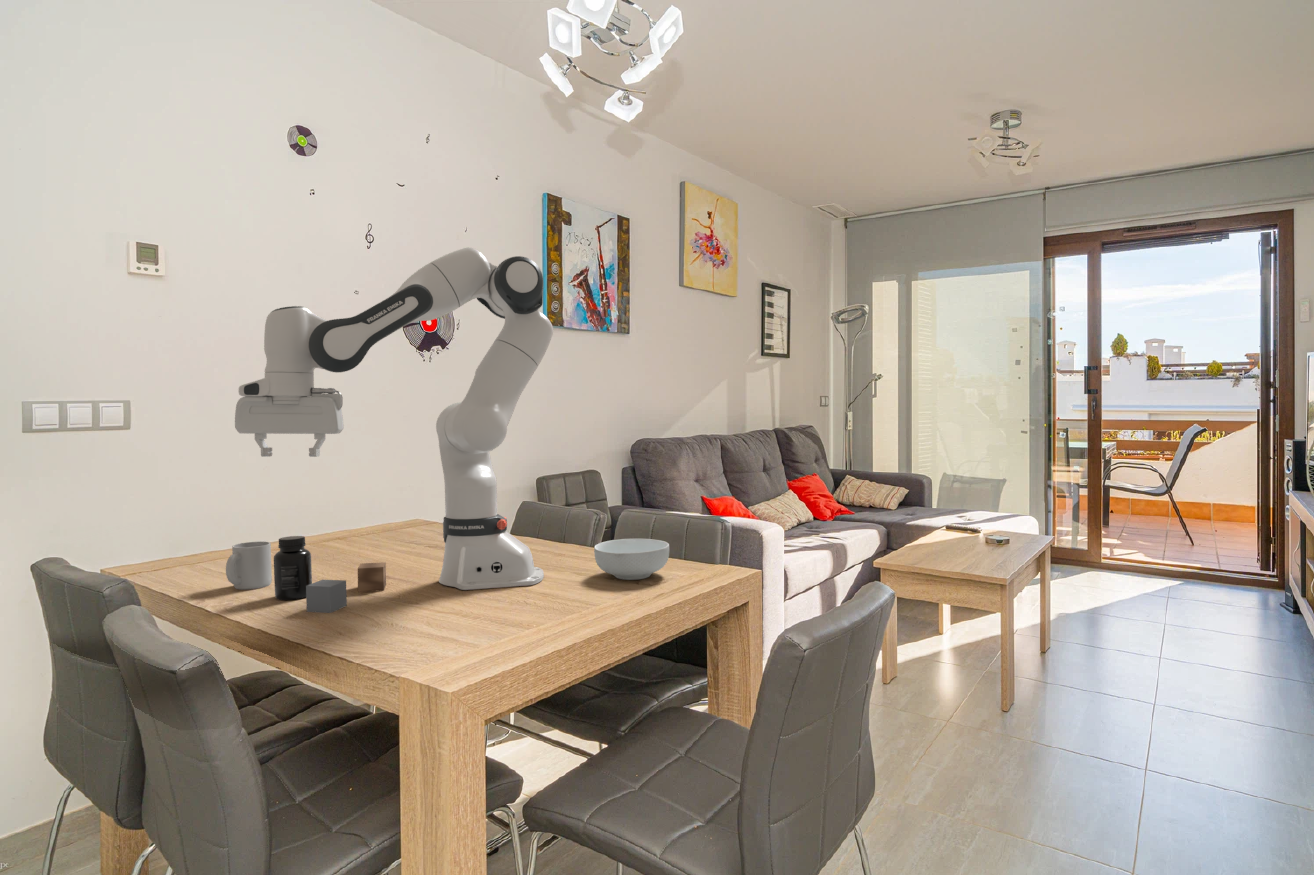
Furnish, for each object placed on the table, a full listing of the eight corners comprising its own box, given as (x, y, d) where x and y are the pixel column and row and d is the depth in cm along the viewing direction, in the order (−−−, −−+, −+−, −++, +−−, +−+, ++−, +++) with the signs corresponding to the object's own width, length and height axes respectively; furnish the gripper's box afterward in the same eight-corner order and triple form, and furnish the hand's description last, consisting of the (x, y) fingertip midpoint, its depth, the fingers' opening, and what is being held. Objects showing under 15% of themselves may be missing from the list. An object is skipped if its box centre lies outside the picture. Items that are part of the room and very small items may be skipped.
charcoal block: (346, 606, 142) (346, 580, 142) (330, 613, 137) (330, 586, 137) (323, 605, 143) (322, 579, 143) (306, 612, 138) (305, 585, 138)
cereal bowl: (626, 564, 177) (625, 535, 176) (684, 573, 167) (683, 542, 167) (578, 578, 163) (578, 546, 163) (638, 589, 153) (638, 555, 153)
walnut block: (386, 585, 158) (385, 562, 158) (383, 590, 154) (383, 567, 153) (361, 586, 157) (360, 563, 157) (358, 592, 152) (357, 568, 152)
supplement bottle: (320, 593, 151) (318, 535, 151) (293, 602, 145) (291, 541, 144) (293, 591, 154) (292, 533, 153) (266, 599, 147) (264, 539, 146)
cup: (279, 582, 161) (278, 542, 160) (241, 594, 151) (240, 551, 151) (253, 580, 163) (251, 540, 162) (214, 592, 153) (212, 549, 153)
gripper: (348, 388, 152) (348, 455, 152) (246, 387, 151) (247, 455, 151) (336, 387, 145) (337, 457, 146) (229, 386, 144) (231, 457, 145)
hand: (290, 456), depth 149 cm, fingers open, 8 cm apart
